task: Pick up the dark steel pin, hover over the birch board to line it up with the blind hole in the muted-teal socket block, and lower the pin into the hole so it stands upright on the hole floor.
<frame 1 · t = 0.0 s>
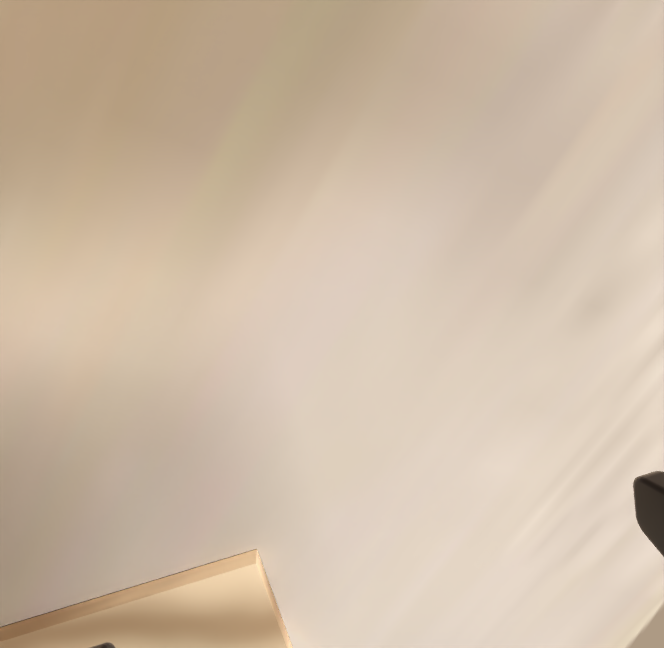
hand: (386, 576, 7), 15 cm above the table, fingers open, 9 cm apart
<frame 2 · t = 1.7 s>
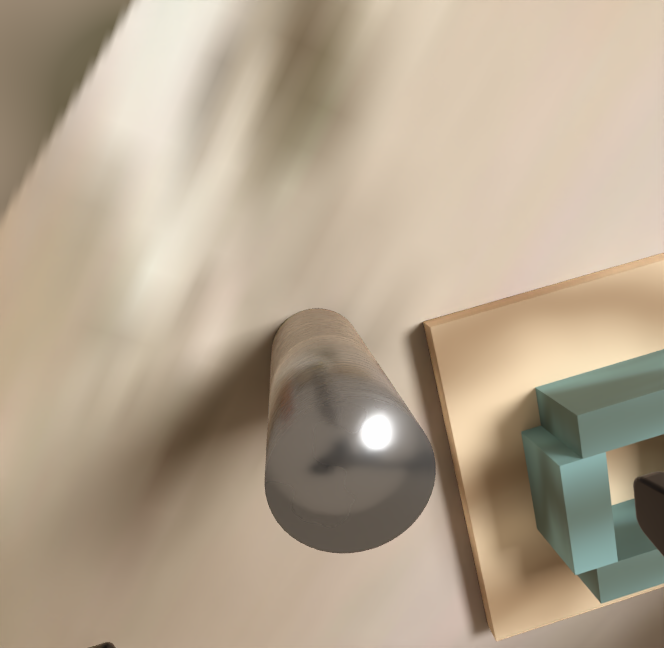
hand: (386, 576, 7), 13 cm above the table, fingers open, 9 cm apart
socket board: (606, 443, 23), on the table
steel pin: (316, 352, 20), on the table
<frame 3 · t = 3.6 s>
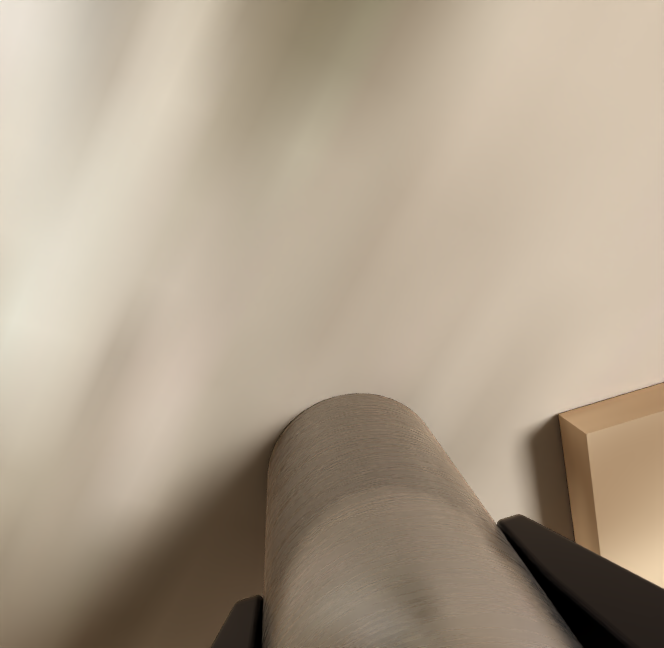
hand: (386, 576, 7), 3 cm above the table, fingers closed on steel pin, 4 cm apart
steel pin: (354, 474, 10), on the table, touching gripper
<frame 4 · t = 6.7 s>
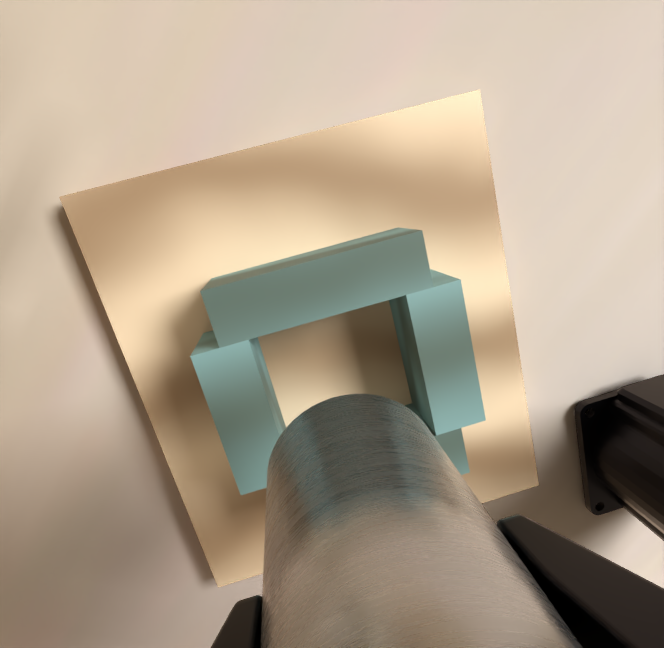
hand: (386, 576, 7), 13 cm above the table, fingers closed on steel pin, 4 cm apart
socket board: (332, 355, 20), on the table
steel pin: (354, 474, 10), point 10 cm above the table, touching gripper
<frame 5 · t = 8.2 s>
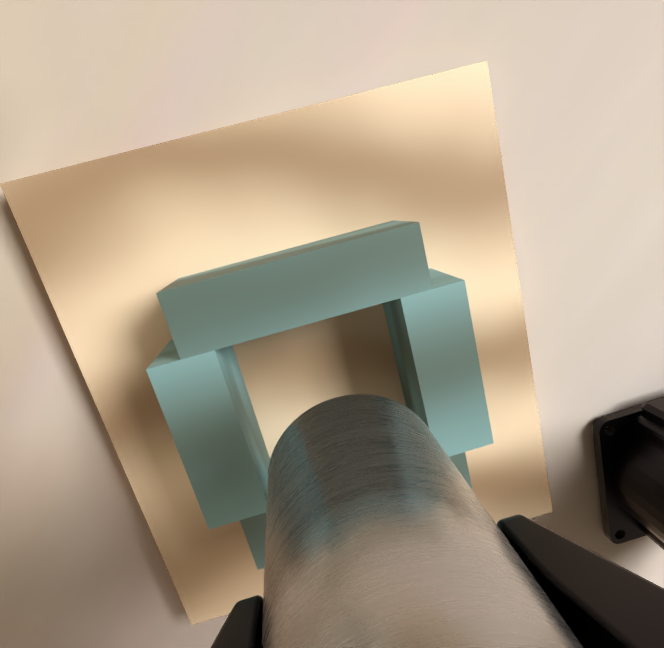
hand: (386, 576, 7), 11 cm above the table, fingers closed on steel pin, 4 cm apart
socket board: (319, 366, 18), on the table
steel pin: (355, 475, 10), point 8 cm above the table, touching gripper
when the fingers open (5 cm above the table, at t = 9.7 s): steel pin stays where it is, resting on socket board.
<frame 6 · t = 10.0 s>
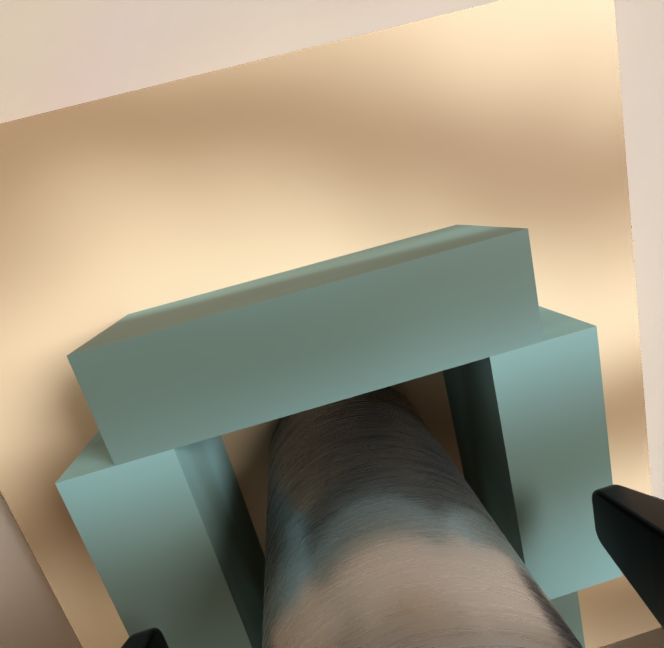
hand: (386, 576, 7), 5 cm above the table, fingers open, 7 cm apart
socket board: (341, 434, 12), on the table
steel pin: (349, 453, 11), point 1 cm above the table, touching socket board
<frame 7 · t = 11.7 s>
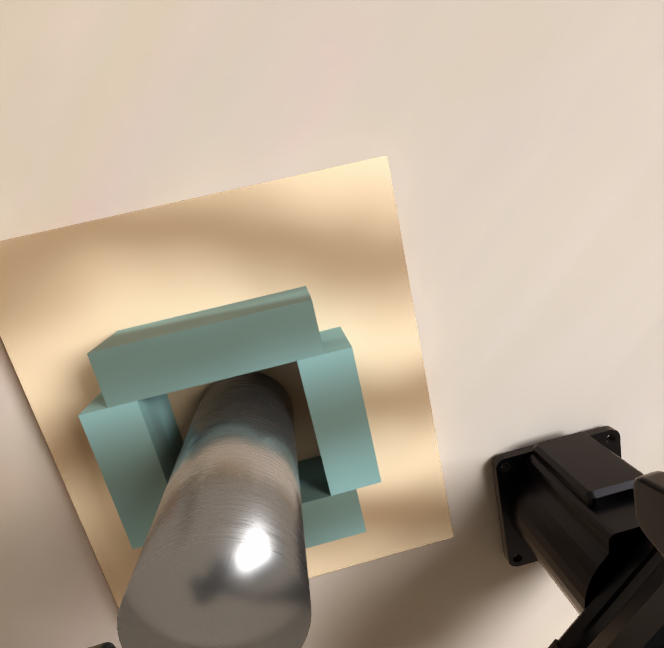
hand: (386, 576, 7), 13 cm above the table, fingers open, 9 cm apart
socket board: (246, 405, 20), on the table
steel pin: (245, 415, 19), point 1 cm above the table, touching socket board
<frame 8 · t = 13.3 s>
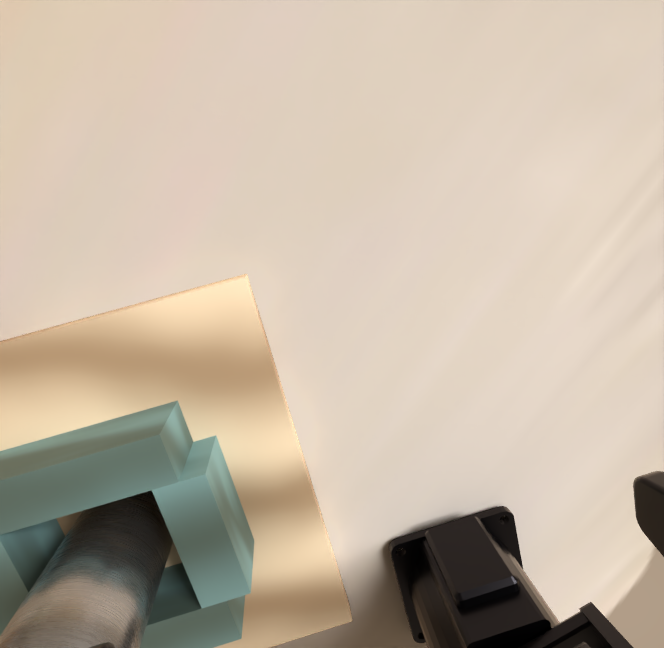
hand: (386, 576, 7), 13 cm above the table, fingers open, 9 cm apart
socket board: (136, 507, 21), on the table
steel pin: (131, 521, 20), point 1 cm above the table, touching socket board
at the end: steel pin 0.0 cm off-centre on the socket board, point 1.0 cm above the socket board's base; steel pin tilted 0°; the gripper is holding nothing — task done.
